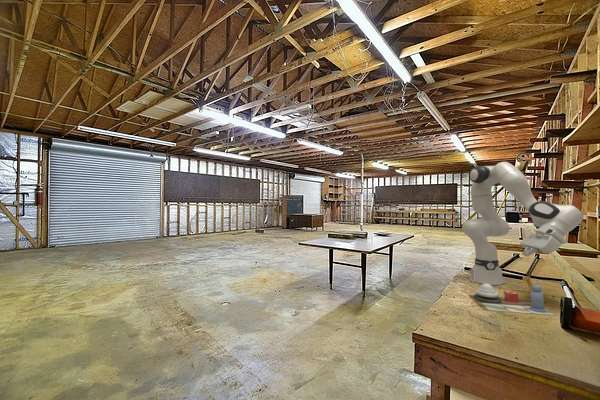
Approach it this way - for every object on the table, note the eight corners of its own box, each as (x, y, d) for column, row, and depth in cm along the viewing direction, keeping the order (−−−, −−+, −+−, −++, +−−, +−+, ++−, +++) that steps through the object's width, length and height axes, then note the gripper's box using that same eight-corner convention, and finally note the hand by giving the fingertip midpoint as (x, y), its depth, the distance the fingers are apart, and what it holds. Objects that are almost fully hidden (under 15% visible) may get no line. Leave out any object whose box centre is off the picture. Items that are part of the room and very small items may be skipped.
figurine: (539, 304, 127) (538, 278, 127) (523, 301, 131) (521, 276, 131) (541, 299, 132) (540, 275, 133) (525, 297, 137) (524, 273, 137)
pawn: (527, 307, 118) (526, 282, 119) (541, 308, 117) (540, 283, 117) (533, 311, 113) (532, 286, 114) (548, 312, 112) (547, 287, 112)
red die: (504, 299, 130) (504, 290, 130) (514, 299, 129) (514, 291, 129) (508, 302, 126) (508, 293, 126) (518, 302, 125) (518, 293, 125)
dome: (473, 291, 136) (473, 280, 136) (493, 292, 133) (493, 281, 133) (480, 296, 127) (479, 285, 127) (502, 298, 124) (501, 286, 125)
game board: (467, 297, 138) (467, 292, 138) (527, 301, 130) (527, 296, 131) (483, 313, 116) (483, 308, 116) (556, 319, 109) (556, 313, 109)
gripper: (530, 228, 135) (508, 247, 137) (556, 231, 115) (530, 253, 117) (541, 237, 133) (519, 256, 136) (570, 242, 114) (543, 264, 116)
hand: (524, 255), depth 126 cm, fingers closed
